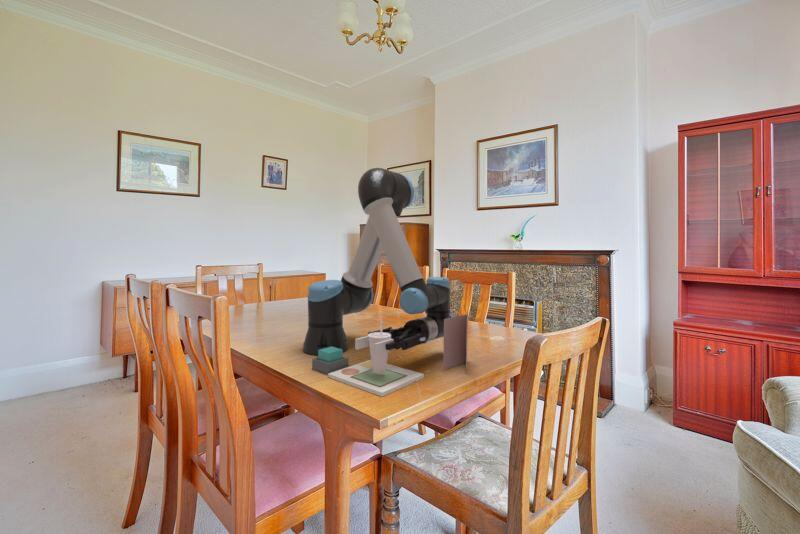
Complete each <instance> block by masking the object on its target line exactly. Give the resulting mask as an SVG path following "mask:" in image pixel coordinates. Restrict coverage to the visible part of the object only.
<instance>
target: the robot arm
mask: <svg viewBox="0 0 800 534" xmlns="http://www.w3.org/2000/svg"><path fill="white" fill-rule="evenodd" d="M357 194H358V199H359V203H360V206H361V208H362V209H363V212H364V214H365V215H368V218H367V221H366V224H365V226H364V229H363V231H362V234H361V237H360V239H359V242H358V245H357V248H356V250H355V254H354V255H353V259H352V261H351V264H350V266H349V269H348V271H345V272H343V274H342V276H341V279H340V280H338V279H326V280H320V281H316V282H313V283H311V284H310V285H309V286H308V288H307V289H308V291H307V292H308V293H307V313H308V314H307V320H308V321H307V322H308V324H307V325H308V328H307V331H306V334H305V337H304V341H303V344H302V347H303V348H302V351H303V352H304V353H306V354H308V355H313V356H314V355H316V356H318V350H320V349H324V348H328V347H331V346H332V347H335V348H339V349H343V353H344V352H346V351H348V349H349V341H348V338H347V335H346V332H345V329H344V320H343V319H344V317H343V316H346V315H350V314H354V313H360V312H363V311H364V310H366V309H368V308H369V307H370V306H371V304H372V303H373V301H374V297H375V296H374V292H373V291H374V289H373V285H374V283H373V281H372V277H373V274H374V271H375V269H376V267H377V264H378V261H379V259H380V256H381V253H382V251H384V254H385V255H386V258H387V260H388V263H389V265H390V267H391V270H392V272H393V275H394V277H395V279H396V281H397V284H398V286H399V289H400V291H401V292H400V293H401V294H400V296H399V306H400V308H401V310H402V311H403V312H404V313H406V314H408V315H417V314H423V313H426V315H425V316H422V317H418V318H414V319H411V320H408V321H405V324H404V325H403V326H401V327H399V328H393V327H392V326H389V327H387V328H382V332H385V333H389V334H391V339H389V340H385V341H382V342H378V343H375V344H374V354H375V355H378V354H381V353H384V352H387V351H389V352H391V351H393V350H394V349H395V350H400V349H401V350H402V351H406V350H408V349H411V348H414V347H417V346H419V345H424V344H427V342H431V341H434V340H437V339H439V338H440V339H441V338H444V319H447V318H451V317H454V316H453V314H451V312H450V301H451V284H450V279H449V278H448V277H444V276H431V277H428V278H426V281H425V279H424V277H423V274H422V272H421V270H420V268H419V266H418V263H417V261H416V258H415V256H414V254H413V251H412V249H411V247H410V244H409V243H408V240H407V238H406V236H405V233H404V231H403V228H402V226H401V223H400V222H399V218H401V215H402V212H403V210H404V209H406V208H407V207H409V206H411V204H412V202H413V200H414V197H415V188H414V185H413V183H412V181H411V179H410V178H409V177H407V176H406V175H404V174H401V173H399V172H396V171H391V170H388V169H386V168H383V167H382V168H381V167H373V168H370V169H368V170H366V171H365V172H364V173H363V174H362V176H361V177H360V179H359V181H358V187H357ZM374 332H380V329H379V330H374V331H369V332H367V335H366V336H362V337H359V338H354V345H355V346H354V350H361V349H364V348H365V349H366V348H369V340H368V339H367V338H368V334H370V333H374Z"/></svg>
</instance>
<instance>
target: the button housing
mask: <svg viewBox="0 0 800 534" xmlns="http://www.w3.org/2000/svg"><path fill="white" fill-rule="evenodd" d="M311 362H312V363H311V365H312V367H311V368H312V370H313V369H314V371H316V370H317V372H319V371H320V372H319V373H322V372H323V373H322V374H325V373H326V374H325V375H328V374H329V373H332V372H335V371H338V370H341V369H344V368H347V367H350V366H349V365H350V364H349V362H350V361H349V357H346V356H343V359H341V360H337V361H334V362H331V363H327V362H324V361H321V360H318V356H317V357H314V358H312V360H311Z"/></svg>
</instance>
